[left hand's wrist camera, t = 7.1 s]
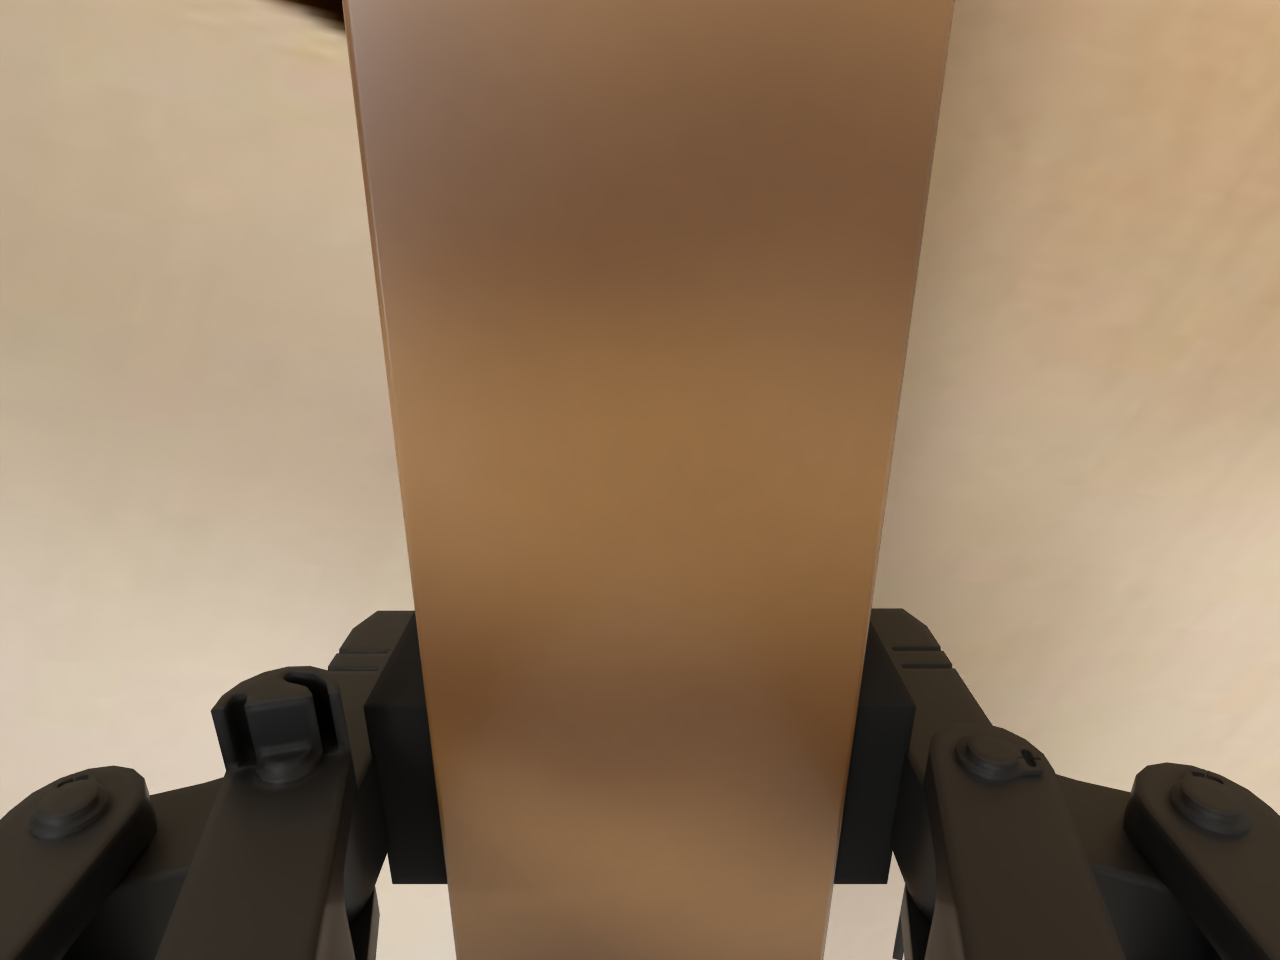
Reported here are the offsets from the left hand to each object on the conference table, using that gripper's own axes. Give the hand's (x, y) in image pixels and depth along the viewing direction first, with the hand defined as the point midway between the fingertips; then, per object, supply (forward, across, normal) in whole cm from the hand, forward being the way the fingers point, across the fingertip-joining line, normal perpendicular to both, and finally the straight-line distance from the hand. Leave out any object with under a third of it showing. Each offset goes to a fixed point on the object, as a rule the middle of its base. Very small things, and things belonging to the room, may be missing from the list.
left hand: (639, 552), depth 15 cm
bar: (+1, 0, -28) cm, 28 cm away
